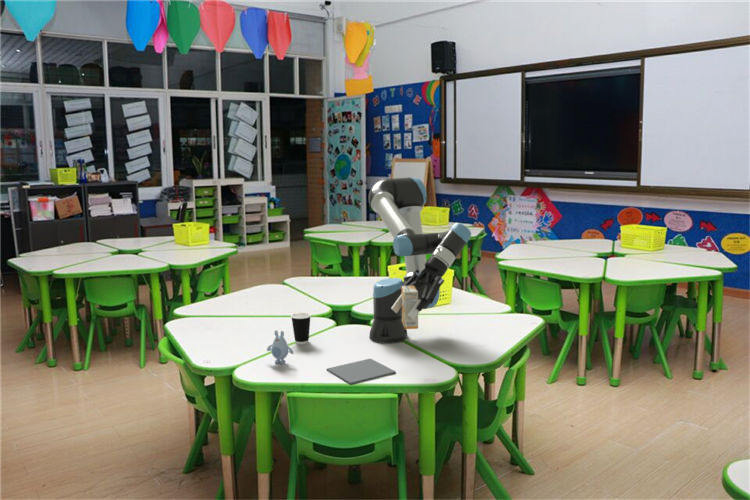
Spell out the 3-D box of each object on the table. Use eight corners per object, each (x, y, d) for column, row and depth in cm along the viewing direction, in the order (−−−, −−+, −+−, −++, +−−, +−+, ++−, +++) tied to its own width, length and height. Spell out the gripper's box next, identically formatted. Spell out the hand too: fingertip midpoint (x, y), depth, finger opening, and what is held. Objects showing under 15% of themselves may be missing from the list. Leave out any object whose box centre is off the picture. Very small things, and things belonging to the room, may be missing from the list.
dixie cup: (315, 343, 253) (314, 316, 251) (295, 346, 250) (294, 319, 248) (307, 338, 260) (306, 311, 258) (288, 341, 257) (287, 314, 255)
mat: (370, 360, 234) (370, 358, 234) (395, 373, 220) (395, 371, 220) (326, 370, 224) (326, 368, 224) (350, 384, 211) (350, 382, 211)
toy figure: (263, 364, 231) (261, 331, 229) (271, 358, 237) (270, 326, 235) (289, 367, 227) (288, 334, 225) (297, 361, 233) (296, 329, 231)
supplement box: (401, 322, 225) (400, 285, 223) (415, 321, 225) (414, 285, 223) (404, 329, 217) (403, 291, 214) (418, 329, 217) (418, 291, 215)
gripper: (414, 250, 231) (377, 300, 226) (453, 260, 213) (414, 315, 208) (426, 263, 235) (390, 313, 229) (466, 274, 217) (428, 328, 211)
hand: (402, 313), depth 218 cm, fingers closed on supplement box, 9 cm apart
